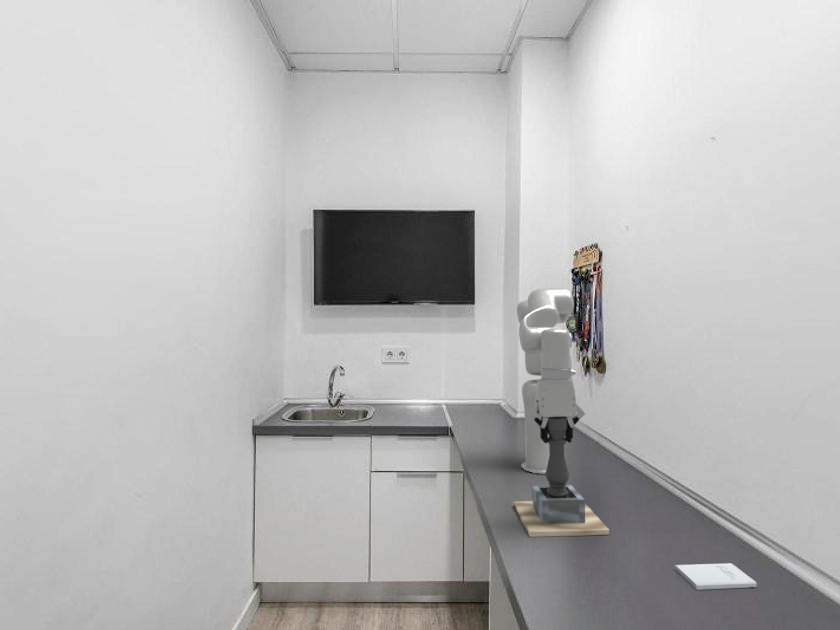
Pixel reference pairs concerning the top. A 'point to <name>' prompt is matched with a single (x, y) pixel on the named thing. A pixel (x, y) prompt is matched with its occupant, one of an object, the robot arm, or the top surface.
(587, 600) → the top surface
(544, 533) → the socket board
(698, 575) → the external hard drive
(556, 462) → the candle holder
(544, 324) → the robot arm
